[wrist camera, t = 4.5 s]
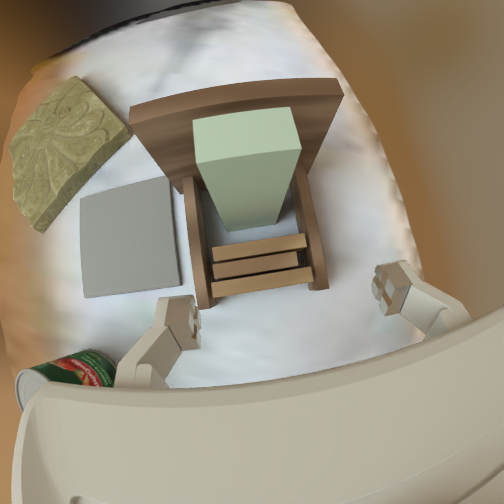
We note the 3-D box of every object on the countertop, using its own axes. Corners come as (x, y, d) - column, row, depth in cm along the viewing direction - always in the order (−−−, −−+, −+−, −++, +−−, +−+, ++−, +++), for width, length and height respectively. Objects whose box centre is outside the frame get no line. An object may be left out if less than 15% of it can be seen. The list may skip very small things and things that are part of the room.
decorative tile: (82, 81, 32) (73, 70, 28) (135, 137, 30) (124, 123, 27) (10, 160, 30) (-2, 153, 27) (42, 239, 28) (26, 235, 25)
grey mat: (181, 285, 27) (179, 285, 27) (87, 297, 27) (84, 298, 26) (170, 177, 29) (168, 175, 28) (82, 200, 28) (80, 198, 28)
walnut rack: (330, 286, 27) (397, 283, 13) (194, 308, 27) (139, 326, 13) (304, 162, 29) (336, 78, 15) (178, 181, 29) (129, 106, 15)
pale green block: (275, 224, 28) (301, 148, 12) (227, 232, 28) (196, 163, 12) (270, 200, 28) (289, 106, 12) (223, 207, 28) (192, 120, 12)
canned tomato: (70, 391, 25) (16, 418, 14) (75, 338, 26) (13, 353, 15) (121, 419, 25) (75, 461, 14) (129, 365, 26) (74, 397, 15)
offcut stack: (303, 282, 27) (317, 280, 21) (221, 295, 27) (213, 297, 21) (296, 241, 28) (307, 229, 22) (215, 254, 28) (205, 245, 22)
